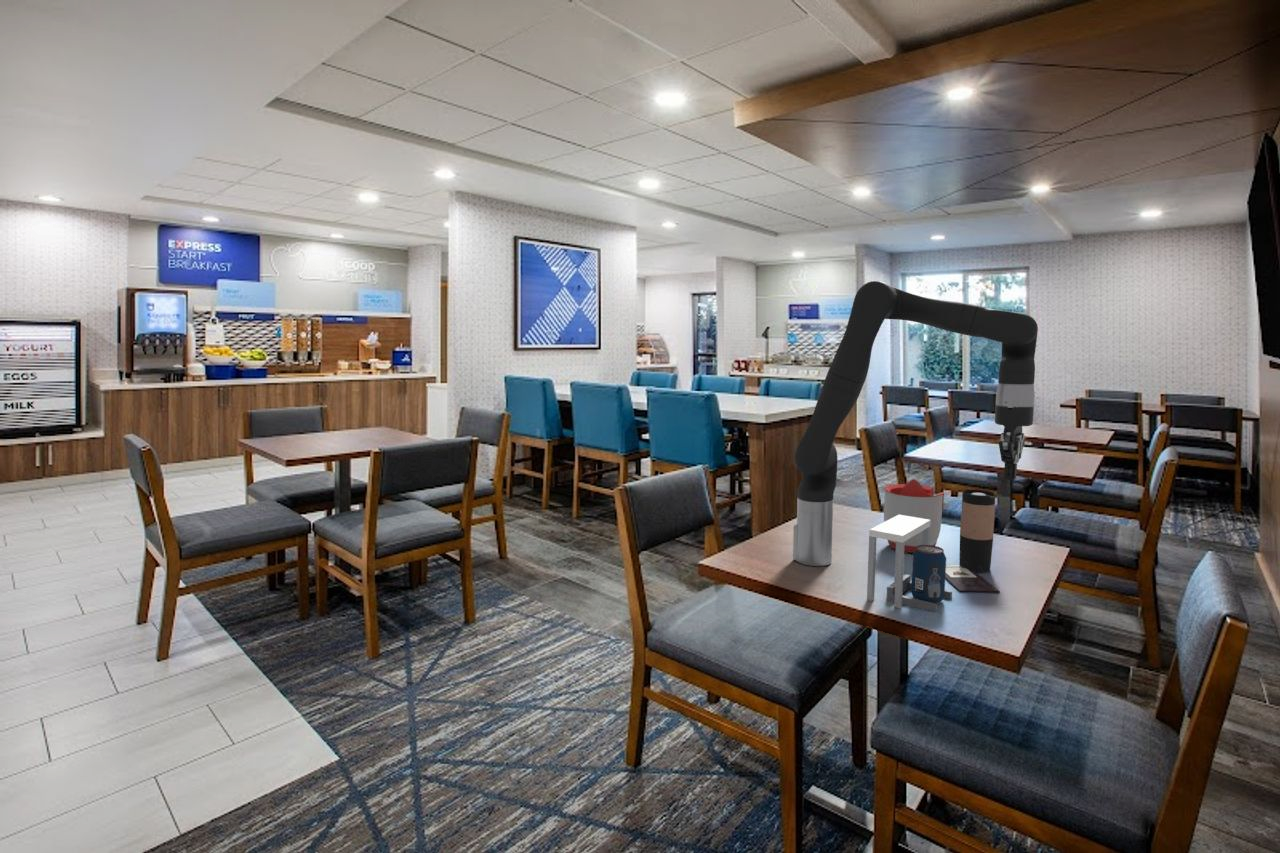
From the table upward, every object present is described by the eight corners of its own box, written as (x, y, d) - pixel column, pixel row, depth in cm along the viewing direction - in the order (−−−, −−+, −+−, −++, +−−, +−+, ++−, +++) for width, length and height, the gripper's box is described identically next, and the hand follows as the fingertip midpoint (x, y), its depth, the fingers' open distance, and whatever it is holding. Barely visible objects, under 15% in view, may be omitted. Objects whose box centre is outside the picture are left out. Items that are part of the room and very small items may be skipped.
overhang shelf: (866, 599, 151) (869, 529, 149) (896, 579, 163) (898, 514, 161) (930, 616, 141) (933, 541, 139) (956, 593, 154) (959, 524, 152)
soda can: (923, 591, 155) (925, 542, 154) (950, 601, 150) (953, 549, 148) (904, 597, 152) (906, 547, 150) (931, 607, 146) (934, 555, 144)
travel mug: (954, 562, 175) (958, 488, 173) (986, 564, 174) (990, 489, 171) (962, 572, 168) (966, 495, 166) (995, 574, 167) (1000, 496, 164)
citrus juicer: (958, 556, 181) (961, 484, 178) (895, 557, 180) (898, 485, 178) (930, 539, 196) (933, 473, 194) (873, 540, 196) (875, 474, 193)
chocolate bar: (959, 590, 155) (931, 564, 172) (959, 594, 155) (931, 568, 173) (999, 591, 154) (967, 565, 172) (999, 594, 154) (967, 568, 172)
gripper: (1004, 400, 156) (999, 473, 158) (987, 405, 146) (983, 482, 148) (1040, 402, 151) (1035, 477, 153) (1026, 407, 141) (1021, 486, 143)
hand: (1009, 479), depth 151 cm, fingers closed
